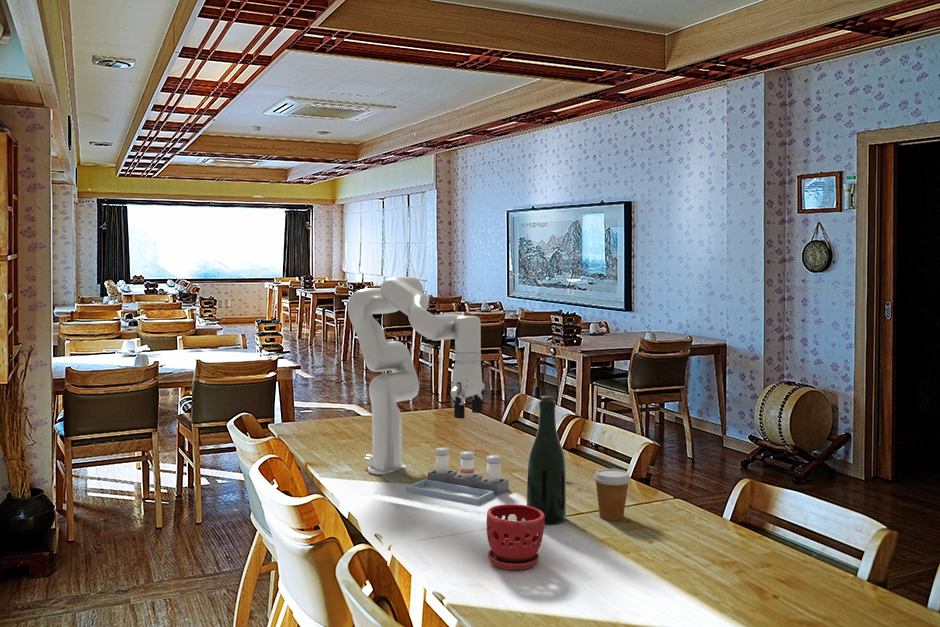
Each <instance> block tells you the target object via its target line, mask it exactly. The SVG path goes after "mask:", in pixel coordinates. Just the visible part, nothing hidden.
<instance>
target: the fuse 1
mask: <svg viewBox="0 0 940 627" xmlns="http://www.w3.org/2000/svg"><path fill="white" fill-rule="evenodd" d="M434 455H435V470H436V474H441V475H446V474H449V470H450V448H449V447H437V448H435V449H434Z"/></svg>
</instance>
